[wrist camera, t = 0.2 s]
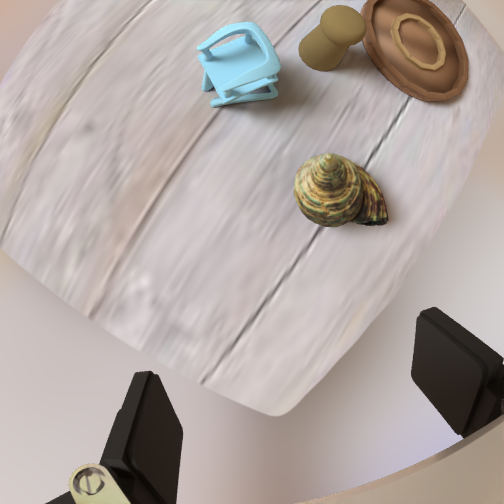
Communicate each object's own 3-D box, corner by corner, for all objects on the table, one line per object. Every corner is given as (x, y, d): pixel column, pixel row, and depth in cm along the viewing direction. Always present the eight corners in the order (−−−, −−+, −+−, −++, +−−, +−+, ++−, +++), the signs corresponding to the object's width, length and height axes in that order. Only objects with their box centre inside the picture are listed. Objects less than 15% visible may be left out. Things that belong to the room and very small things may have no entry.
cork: (305, 73, 35) (332, 43, 24) (293, 36, 33) (314, -2, 23) (346, 69, 35) (382, 42, 24) (333, 33, 33) (363, -2, 23)
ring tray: (345, -14, 31) (350, -21, 29) (441, 7, 32) (449, 3, 30) (374, 98, 36) (382, 94, 34) (469, 106, 37) (478, 104, 35)
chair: (193, 74, 34) (180, 37, 22) (251, 49, 33) (260, 6, 22) (219, 123, 36) (216, 102, 24) (278, 96, 36) (299, 66, 24)
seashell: (307, 248, 41) (332, 271, 31) (275, 168, 38) (292, 167, 28) (374, 218, 41) (412, 232, 31) (347, 141, 38) (382, 133, 28)
